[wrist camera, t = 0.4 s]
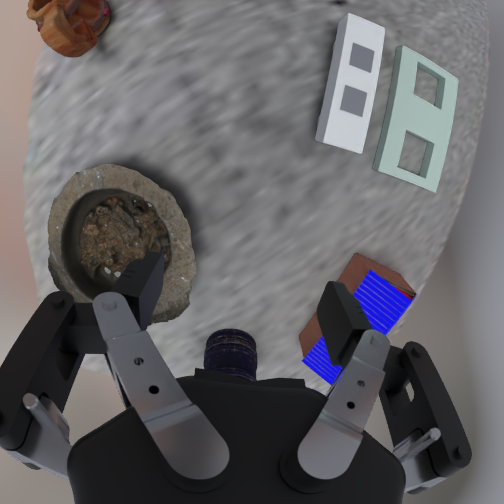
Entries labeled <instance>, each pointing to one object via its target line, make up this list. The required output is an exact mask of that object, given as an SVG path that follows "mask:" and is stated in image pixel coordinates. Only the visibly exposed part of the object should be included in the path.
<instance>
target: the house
mask: <svg viewBox="0 0 504 504" xmlns="http://www.w3.org/2000/svg"><path fill="white" fill-rule="evenodd" d="M337 282H341V283H344V284H345V286H346V288H347V290H348V291H349V293H350V294H352V295H353V296H354V297H355V298H356V299H357V300H358V301H359V303H360V305H361V308H362V309H363V311H364V314H366V316H367V318H368V320H369V322H370V324H371V326H372V328H373V330H377V331H379V332H381V333H383V334H384V335H385V336H386V334H387V333H388V332H389V331H390V330H391V328H392V327H393V326H394V325H395V323H396V322H397V321H398V320H399V318H400V317H401V316H402V315H403V313H404V312H405V311H406V309H407V308H408V307H409V305H410V304H411V303H412V301H413V300H414V299H415V297H416V296H417V295H418V294H417V295H416V293H415V291H414V290H413V289H412V288H411V287H410V286H409V284H408V283H407V282H406V281H405V280H404V278H403V277H402V276H401V275H400V274H398V273H396V272H394V271H392V270H390V269H388V268H386V267H384V266H382V265H380V264H378V263H376V262H374V261H372V260H370V259H368V258H366V257H364V256H362V255H360V254H358V253H355V254H354V256H353V258H352V259H351V261H350V262H349V264H348V265H347V267H346V268H345V270H344V272H343V273H342V275H341V276H340V278H339V279H338V281H337ZM415 295H416V296H415ZM299 339H300V343H301V348H302V352H303V357H304V359H303V360H302V362H304V363H305V364H306V365H307V366H308V367H310V368H311V369H312V370H313V371H314V372H316V373H317V374H318V375H319V376H321V377H322V378H323V379H324V380H326V381H327V382H328V383H329V384H331V385H332V384H333V382H334V380H335V379H336V377H337V375H338V374H339V372H340V371H341V369H342V367H341V366H332V365H331V361H330V358H329V355H328V351H327V348H326V345H325V341H324V338H323V335H322V332H321V328H320V325H319V322H318V319H317V311H316V313H315V314H314V316H313V317H312V318H311V320H310V321H309V323H308V324H307V325H306V327H305V328H304V329H303V331H302V332H301V333H300V335H299Z"/></svg>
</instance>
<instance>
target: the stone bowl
mask: <svg viewBox="0 0 504 504" xmlns="http://www.w3.org/2000/svg"><path fill="white" fill-rule="evenodd" d="M147 202H148V203H150V204H151V205H152V207H149V206H148V203H147ZM48 234H49V237H48V244H49V250H50V256H49V258H48V264H49V265H48V268H49V271H50V272H51V276H52V277H53V281H54V284H55V285H56V287H57V288H58V289H59V290H60V291H66V292H68V293H70V294H71V295H72V296H73V298H74V302H75V303H92V302H93V300H94V299H95V297H97V296H98V295H100V294H102V293H105V292H110V290H111V289H112V287H113V286H114V284H115V283H116V281H117V280H118V278H119V277H116V276H115V274H114V273H115V272H116V271H119V272H121V274H122V272H123V271H124V270H125V268H126V267H127V265H128V264H129V263H130V262H132V261H133V260H135V259H143V258H144V256H145V255H146V253H147V252H148V251H149V250H150V251H156V252H162V253H164V254H165V255H166V257H165V258H164V279H163V288H162V292H161V295H160V297H159V299H158V302H157V304H156V307H155V309H154V311H153V314H152V316H151V319H150V321H149V324H148V326H149V325H151V324H152V323H153V322H154V323H159V322H168V320H173V319H175V318H176V317H179V316H180V315H181V314H182V313H183V311H184V310H185V309H186V308H187V307H188V306H189V305H190V302H189V294H190V292H191V290H192V286H191V281H192V279H193V277H194V276H196V271H197V270H196V263H195V254H194V250H193V248H192V244H191V230H190V227H189V224H188V221H187V219H186V218H184V216H183V213H182V211H181V208H180V207H179V206H178V205H177V203H176V200H175V198H174V197H173V195H172V194H171V193H170V192H169V191H167V190H165V189H160V188H159V186H158V185H157V184H155V183H154V182H153V181H151V180H150V179H148V178H147V177H145V176H142V175H141V174H140V173H139V172H138V171H135V170H130V169H129V168H126V167H123V166H119V165H115V164H102V165H100V166H99V165H98V166H97V167H96V168H92V169H90V168H87V169H85V170H84V171H81V172H76V174H75V175H74V176H72V177H71V179H70V180H69V181H68V182H67V183H66V185H65V186H64V188H63V190H62V192H61V193H60V195H59V196H58V197H56V198H54V201H53V204H52V207H51V211H50V215H49V220H48ZM105 267H107V268H108V269H110V270H111V273H110V274H108V273H106V272H105V270H104V268H105ZM120 276H121V275H120Z"/></svg>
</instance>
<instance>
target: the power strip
mask: <svg viewBox="0 0 504 504" xmlns="http://www.w3.org/2000/svg"><path fill="white" fill-rule="evenodd" d="M384 34H385V28H384V27H381V26H379V25H377V24H375V23H373V22H370V21H368V20H366V19H363V18H361V17H358V16H356V15H353V14H350V13H348V14H347V15H346V16H345V17H344V18H343V19H342V20H341V21H340V22H339V24H338V29H337V35H336V40H335V42H334V43H333V46H332V50H333V56H332V61H331V66H330V71H329V76H328V81H327V86H326V91H325V95H324V100H323V105H322V109H321V114H320V115H319V117H318V119H317V132H316V136H315V141H318V142H322V143H326V144H329V145H333V146H336V147H339V148H343V149H346V150H349V151H353V152H356V153H360V154H362V151H363V146H364V142H365V138H366V134H367V130H368V125H369V121H370V116H371V111H372V107H373V102H374V97H375V91H376V86H377V81H378V75H379V69H380V63H381V56H382V49H383V42H384Z"/></svg>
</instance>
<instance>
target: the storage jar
mask: <svg viewBox="0 0 504 504" xmlns="http://www.w3.org/2000/svg"><path fill="white" fill-rule="evenodd" d="M204 369H205V370H212V371H219V372H224V373H227V374H230V375H233V376H236V377H239V378H243V379H246V380H249V381H257V380H256V370H257V353H256V343H255V341H254V339H253V338H252V336H250V335H249V334H248V333H246V332H244V331H241V330H238V329H222V330H219V331H216V332H214V333H213V334H212V335H211V336H210V337H209V338H208V340H207V344H206V350H205V354H204Z"/></svg>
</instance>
